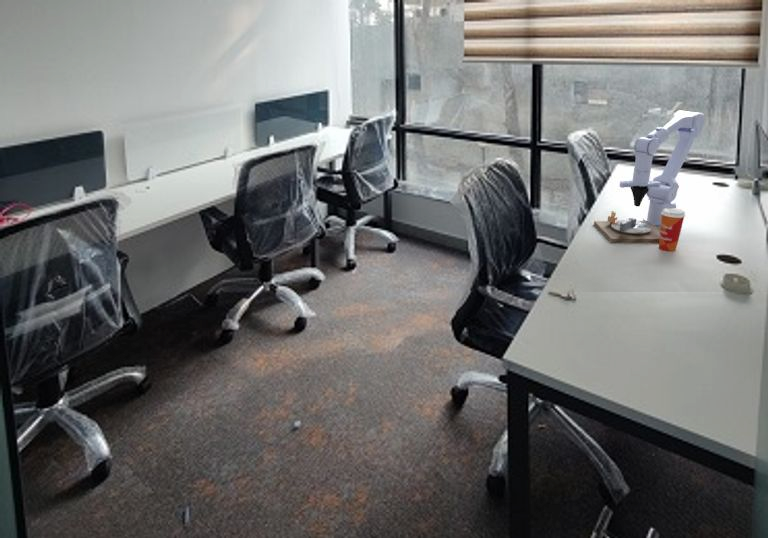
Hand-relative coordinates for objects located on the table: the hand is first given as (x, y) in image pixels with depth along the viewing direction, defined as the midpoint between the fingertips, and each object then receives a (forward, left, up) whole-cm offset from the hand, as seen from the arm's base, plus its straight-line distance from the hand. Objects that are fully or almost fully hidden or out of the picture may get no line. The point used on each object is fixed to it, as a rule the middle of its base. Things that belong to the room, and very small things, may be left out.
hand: (636, 205), depth 234 cm
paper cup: (-4, +22, -10) cm, 24 cm away
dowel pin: (+8, -2, -8) cm, 11 cm away
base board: (+3, +5, -9) cm, 11 cm away
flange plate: (+4, +5, -7) cm, 10 cm away
